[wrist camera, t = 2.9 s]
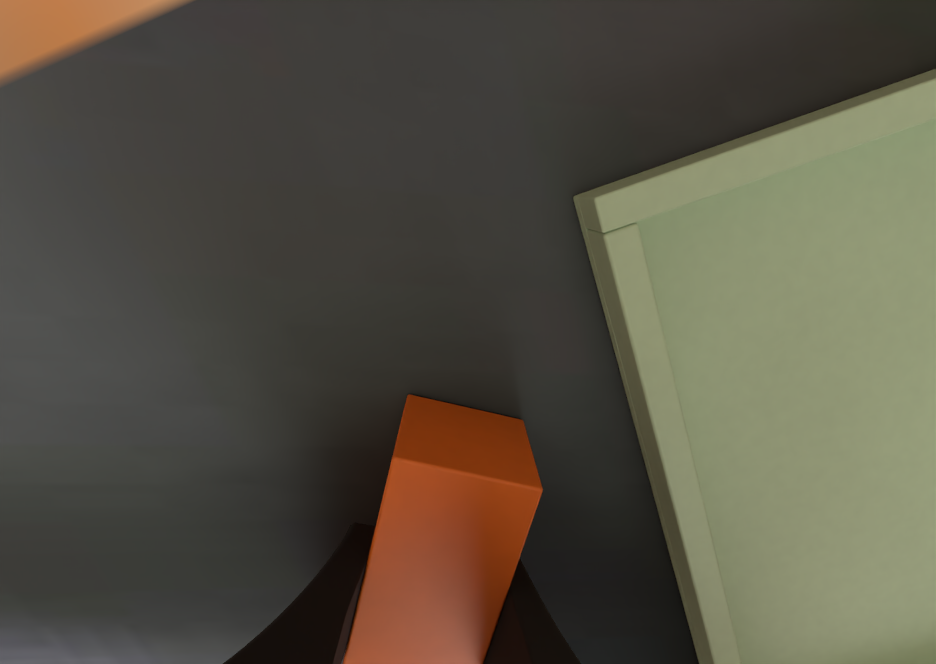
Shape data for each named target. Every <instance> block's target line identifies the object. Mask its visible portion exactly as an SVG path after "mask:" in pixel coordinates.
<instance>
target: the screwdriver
mask: <svg viewBox="0 0 936 664" xmlns="http://www.w3.org/2000/svg"><path fill="white" fill-rule="evenodd" d="M542 491H543V488H542V485H541V481H540V478H539V474H538V471H537V467H536V464H535V460H534V457H533V453H532V450H531V446H530V443H529V439H528V436H527V432H526V429H525V425H524V422H523V420H521V419H516V418H512V417H507V416H503V415H499V414H494V413H490V412H485V411H481V410H476V409H472V408H468V407H463V406H459V405H454V404H450V403H446V402H441V401H437V400H432V399H428V398H423V397H419V396H415V395H408V396H407V399H406V403H405V407H404V411H403V415H402V419H401V423H400V427H399V432H398V436H397V440H396V444H395V448H394V452H393V456H392V460H391V464H390V469H389V473H388V477H387V481H386V485H385V489H384V494H383V498H382V502H381V506H380V510H379V514H378V519H377V523H376V527H375V531H374V535H373V539H372V544H371V548H370V552H369V556H368V560H367V564H366V569H365V573H364V577H363V581H362V585H361V589H360V594H359V598H358V602H357V606H356V610H355V614H354V619H353V623H352V627H351V631H350V635H349V639H348V644H347V648H346V652H345V656H344V660H343V664H483V662H484V659H485V657H486V654H487V651H488V648H489V645H490V642H491V639H492V636H493V633H494V630H495V628H496V625H497V622H498V619H499V616H500V613H501V610H502V607H503V604H504V602H505V599H506V596H507V593H508V590H509V587H510V584H511V581H512V578H513V575H514V573H515V570H516V567H517V564H518V561H519V558H520V555H521V552H522V549H523V546H524V544H525V541H526V538H527V535H528V532H529V529H530V526H531V523H532V520H533V517H534V515H535V512H536V509H537V506H538V503H539V500H540V497H541V494H542Z"/></svg>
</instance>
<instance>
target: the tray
mask: <svg viewBox="0 0 936 664" xmlns="http://www.w3.org/2000/svg"><path fill="white" fill-rule="evenodd" d="M573 200H574V204H575V207H576V211H577V215H578V219H579V222H580V226H581V230H582V233H583V237H584V241H585V244H586V248H587V252H588V255H589V259H590V263H591V266H592V270H593V274H594V278H595V281H596V285H597V289H598V292H599V296H600V300H601V303H602V307H603V311H604V314H605V318H606V322H607V326H608V329H609V333H610V337H611V340H612V344H613V348H614V351H615V355H616V359H617V362H618V366H619V370H620V374H621V377H622V381H623V385H624V388H625V392H626V396H627V399H628V403H629V407H630V410H631V414H632V418H633V421H634V425H635V429H636V433H637V436H638V440H639V444H640V447H641V451H642V455H643V458H644V462H645V466H646V469H647V473H648V477H649V481H650V484H651V488H652V492H653V495H654V499H655V503H656V506H657V510H658V514H659V517H660V521H661V525H662V528H663V532H664V536H665V540H666V543H667V547H668V551H669V554H670V558H671V562H672V565H673V569H674V573H675V576H676V580H677V584H678V588H679V591H680V595H681V599H682V602H683V606H684V610H685V613H686V617H687V621H688V624H689V628H690V632H691V636H692V639H693V643H694V647H695V650H696V654H697V658H698V661H699V664H936V69H933V70H931V71H928V72H925V73H922V74H919V75H916V76H914V77H911V78H908V79H905V80H902V81H899V82H897V83H894V84H891V85H888V86H885V87H882V88H880V89H877V90H874V91H871V92H868V93H865V94H862V95H860V96H857V97H854V98H851V99H848V100H845V101H843V102H840V103H837V104H834V105H831V106H828V107H826V108H823V109H820V110H817V111H814V112H811V113H808V114H806V115H803V116H800V117H797V118H794V119H791V120H789V121H786V122H783V123H780V124H777V125H774V126H772V127H769V128H766V129H763V130H760V131H757V132H755V133H752V134H749V135H746V136H743V137H740V138H737V139H735V140H732V141H729V142H726V143H723V144H720V145H718V146H715V147H712V148H709V149H706V150H703V151H701V152H698V153H695V154H692V155H689V156H686V157H683V158H681V159H678V160H675V161H672V162H669V163H666V164H664V165H661V166H658V167H655V168H652V169H649V170H647V171H644V172H641V173H638V174H635V175H632V176H630V177H627V178H624V179H621V180H618V181H615V182H612V183H610V184H607V185H604V186H601V187H598V188H595V189H593V190H590V191H587V192H584V193H581V194H578V195H576V196H574V197H573Z"/></svg>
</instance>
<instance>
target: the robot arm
mask: <svg viewBox="0 0 936 664" xmlns="http://www.w3.org/2000/svg"><path fill="white" fill-rule="evenodd" d="M374 531H375V527H374V526H369V525H364V524H359V523H354V524H352V525H350V527H349V530H348V532H347V533H346V535H345V537H344V539H343V540H342V542H341V543H340V545H339V546H338V548H337V549H336V551H335V552H334V553H333V555H332V556H331V558H330V559H329V560H328V561H327V563H326V564H325V565H324V566H323V568H322V569H321V570H320V572H319V573H318V574H317V575H316V577H315V578H314V579H313V580H312V581H311V582H310V583H309V585H308V586H307V587H306V588H305V589H304V590H303V591H302V592H301V594H300V595H299V596H298V597H297V598H296V599H295V600H294V601H293V602H292V603H291V604H290V605H289V606H288V607H287V608H286V609H285V610H284V611H283V612H282V613H281V614H280V615H279V616H278V617H277V618H276V619H275V620H274V621H273V622H272V623H271V624H270V625H269V626H268V627H267V628H266V629H264V630H263V631H262V632H261V633H260V634H259V635H258V636H256V637H255V638H254V639H253V640H252V641H251V642H250V643H248V644H247V645H246V646H245V647H244V648H242V649H241V650H240V651H239V652H238V653H236V654H235V655H234V656H233V657H231V658H230V659H229V660H227V661H226V662H224V663H223V664H341V662H342V659H343V656H344V653H345V650H346V647H347V644H348V639H349V635H350V631H351V627H352V623H353V619H354V614H355V610H356V606H357V602H358V598H359V594H360V589H361V585H362V581H363V577H364V573H365V569H366V564H367V560H368V556H369V552H370V548H371V544H372V539H373V535H374ZM483 664H581V663H580V661H579V660H578V659H577V657H576V656H575V654H574V653H573V651H572V650H571V648H570V647H569V645H568V643H567V642H566V640H565V639H564V637H563V636H562V634H561V632H560V631H559V629H558V628H557V626H556V624H555V622H554V621H553V619H552V617H551V616H550V614H549V612H548V610H547V609H546V607H545V605H544V603H543V602H542V600H541V598H540V596H539V594H538V592H537V591H536V589H535V587H534V585H533V583H532V581H531V579H530V577H529V575H528V573H527V572H526V570H525V568H524V566H523V564H522V562H521V560H520V558H519V561H518V564H517V567H516V570H515V573H514V575H513V578H512V581H511V584H510V587H509V590H508V593H507V596H506V599H505V602H504V604H503V607H502V610H501V613H500V616H499V619H498V622H497V625H496V628H495V630H494V633H493V636H492V639H491V642H490V645H489V648H488V651H487V654H486V657H485V659H484V662H483Z"/></svg>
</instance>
